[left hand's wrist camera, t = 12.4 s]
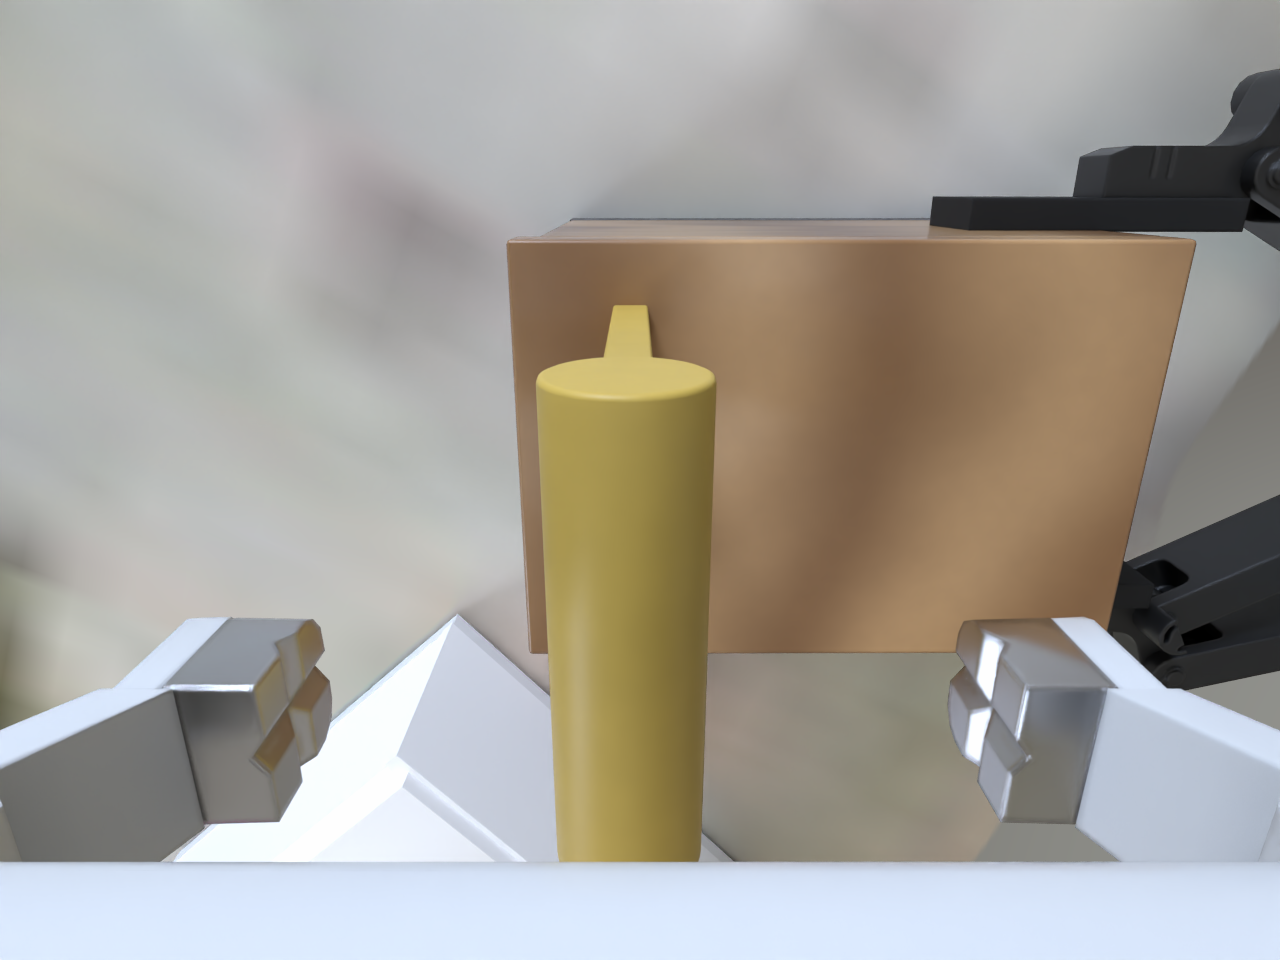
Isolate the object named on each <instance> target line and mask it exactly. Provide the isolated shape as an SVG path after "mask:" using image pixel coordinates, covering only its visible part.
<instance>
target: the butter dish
mask: <svg viewBox="0 0 1280 960" xmlns="http://www.w3.org/2000/svg"><path fill="white" fill-rule="evenodd" d="M301 773H302V779H303V782H302V784H301V786H300V787H299V789H298V791H297V793H296V794H295V796H294V798H293V799H292V801H291V803H290V805H289V806H288V808H287V810H286V812H285V813H284V815H283V817H282V819H281V820H280V822H267V823H232V824H212V825H210V826H209V827H208V828H207V829H206V830H205V831H203V832H202V833H201V834H200V835H199V836H198V837H196V838H195V839H194V840H193V841H192V842H191V843H189V844H188V845H187V846H186V847H185V848H184V849H182V850H181V851H180V852H179V854H178V855H177V857H176V858H175V860H174V861H173V862H559V859H558V852H557V835H556V813H555V791H554V770H553V748H552V726H551V704H550V696H549V695H548V694H547V693H545V692H544V691H543V690H542V689H541V688H540V687H539V686H538V685H537V684H535V683H534V682H533V681H532V680H531V679H530V678H529V677H528V676H526V675H525V674H524V673H523V672H522V671H521V670H520V669H519V668H518V667H516V666H515V665H514V664H513V663H512V662H511V661H510V660H509V659H507V658H506V657H505V656H504V655H503V654H502V653H501V652H500V651H499V650H497V649H496V648H495V647H494V646H493V645H492V644H491V643H490V642H489V641H487V640H486V639H485V638H484V637H483V636H482V635H481V634H480V633H478V632H477V631H476V630H475V629H474V628H473V627H472V626H471V625H470V624H468V623H467V622H466V621H465V620H464V619H463V618H462V617H461V616H460V615H458V614H457V615H456V616H455V617H453V618H452V619H451V620H450V621H449V622H448V623H446V624H445V625H444V626H443V627H442V628H441V629H439V630H438V631H437V632H436V633H435V634H434V635H432V636H431V637H430V638H429V639H428V640H427V641H425V642H424V643H423V644H422V645H421V646H420V647H418V648H417V649H416V650H415V651H414V652H413V653H411V654H410V655H409V656H408V657H407V658H406V659H404V660H403V661H402V662H401V663H400V664H399V665H397V666H396V667H395V668H394V669H393V670H392V671H390V672H389V673H388V674H387V675H386V676H385V677H383V678H382V679H381V680H380V681H379V682H378V683H376V684H375V685H374V686H373V687H372V688H371V689H369V690H368V691H367V692H366V693H365V694H364V695H362V696H361V697H360V698H359V699H358V700H356V701H355V702H354V703H353V704H352V705H351V706H349V707H348V708H347V709H346V710H345V711H344V712H342V713H341V714H340V715H339V716H338V717H337V718H335V719H334V720H333V721H332V722H331V723H330V726H329V730H328V734H327V738H326V741H325V743H324V744H323V746H322V748H321V750H320V752H319V754H318V756H316V757H315V758H313V759H312V760H310V761H309V762H307V763H305V764H304V765H302V766H301ZM698 862H734V861H733V860H732V859H731V858H729V857H728V856H727V855H726V854H725V853H724V852H723V851H722V850H721V849H719V848H718V847H717V846H716V845H715V844H714V843H713V842H712V841H711V840H709V839H708V838H707V837H706V836H705V835H704V834H703V833H702V834H701V853H700V858H699V861H698Z"/></svg>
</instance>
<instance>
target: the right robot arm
mask: <svg viewBox="0 0 1280 960" xmlns="http://www.w3.org/2000/svg"><path fill="white" fill-rule="evenodd" d="M1231 112H1232V114H1233V117H1232V119H1231V121H1230V122H1229V124H1228V126H1227V127H1226V129H1225V130H1224V132H1223V133H1222V134H1221V135H1220V136H1219V137H1218V138H1217V139H1216V140H1215V141H1213V142H1212V143H1210V144H1209V145H1206V146H1125V147H1113V148H1101V149H1099V150H1096V151H1094V152H1091V153H1089V154H1086V155H1084V156H1081V157H1080V159H1079V165H1078V170H1077V176H1076V182H1075V187H1074V193H1073V197H933V201H932V209H931V217H930V226H937V227H945V228H953V229H961V230H969V231H1111V232H1242V231H1243V228H1245V229H1246V230H1248V231H1250V232H1251V233H1253V234H1254V235H1256V236H1257V237H1259V238H1260V239H1262V240H1263V241H1265V242H1266V243H1268V244H1269V245H1271V246H1272V247H1274V248H1276V249H1277V250H1279V251H1280V69H1276V70H1271V71H1265V72H1260V73H1256V74H1253V75H1250V76H1248V77H1247V78H1245V79H1244V80H1243V81H1242V82H1241V83H1240V84H1239V85H1238V87H1237V88H1236V90H1235V91H1234V93H1233V96H1232V100H1231ZM1107 633H1108V634H1109V635H1111V636H1112V637H1113V638H1114V639H1115V640H1116V641H1117V642H1118V643H1119V644H1120V645H1121V646H1122V647H1123V648H1124V649H1125V650H1127V651H1128V652H1129V653H1130V654H1131V655H1132V656H1133V657H1134V658H1135V659H1136V660H1137V661H1138V662H1139V663H1140V664H1141V665H1142V666H1144V667H1145V668H1146V669H1147V670H1148V671H1149V672H1150V673H1151V674H1152V675H1153V676H1154V677H1155V678H1156V679H1157V680H1158V681H1159V682H1161V683H1162V684H1163V685H1164V686H1165V687H1166V688H1167V689H1182V690H1189V689H1194V688H1199V687H1204V686H1209V685H1213V684H1218V683H1223V682H1228V681H1232V680H1237V679H1242V678H1247V677H1251V676H1256V675H1261V674H1266V673H1271V672H1275V671H1280V495H1278V496H1276V497H1273V498H1271V499H1269V500H1267V501H1264V502H1262V503H1260V504H1257V505H1255V506H1253V507H1251V508H1248V509H1246V510H1244V511H1241V512H1239V513H1237V514H1235V515H1232V516H1230V517H1228V518H1226V519H1223V520H1221V521H1219V522H1216V523H1214V524H1212V525H1209V526H1207V527H1205V528H1203V529H1200V530H1198V531H1196V532H1193V533H1191V534H1189V535H1187V536H1184V537H1182V538H1180V539H1178V540H1175V541H1173V542H1171V543H1168V544H1166V545H1164V546H1162V547H1159V548H1157V549H1155V550H1152V551H1150V552H1148V553H1146V554H1143V555H1141V556H1139V557H1136V558H1134V559H1132V560H1130V561H1127V562H1124V561H1123V564H1122V569H1121V573H1120V577H1119V582H1118V586H1117V590H1116V595H1115V599H1114V603H1113V608H1112V612H1111V616H1110V621H1109V625H1108V629H1107Z"/></svg>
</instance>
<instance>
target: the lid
mask: <svg viewBox="0 0 1280 960" xmlns="http://www.w3.org/2000/svg"><path fill="white" fill-rule="evenodd" d="M1195 247H1196V241H1195V240H1192V239H1185V238H1174V237H516V238H513V239H511V240H508V242H507V262H508V280H509V298H510V316H511V334H512V352H513V370H514V388H515V406H516V424H517V442H518V460H519V479H520V497H521V515H522V533H523V551H524V569H525V587H526V605H527V623H528V641H529V651H530V653H532V654H548V660H549V682H550V704H551V726H552V748H553V770H554V791H555V813H556V835H557V852H558V859H559V862H698V861H699V858H700V853H701V834H702V804H703V774H704V744H705V715H706V685H707V655H708V653H957V652H956V651H955V649H956V643H957V637H958V632H959V630H960V628H961V626H962V623H963V621H967V620H982V619H1023V618H1066V617H1086V618H1089V619H1092V620H1095V621H1096V622H1097V623H1098V624H1099V625H1100V626H1101V627H1102V628H1103V629H1104V630H1105V631H1106V632H1107V629H1108V625H1109V621H1110V616H1111V612H1112V608H1113V603H1114V599H1115V595H1116V590H1117V586H1118V582H1119V577H1120V573H1121V569H1122V564H1123V560H1124V556H1125V551H1126V547H1127V543H1128V538H1129V534H1130V530H1131V525H1132V521H1133V517H1134V512H1135V508H1136V503H1137V499H1138V495H1139V490H1140V486H1141V482H1142V477H1143V473H1144V469H1145V464H1146V460H1147V456H1148V451H1149V447H1150V443H1151V438H1152V434H1153V430H1154V425H1155V421H1156V417H1157V412H1158V408H1159V404H1160V399H1161V395H1162V391H1163V386H1164V382H1165V378H1166V373H1167V369H1168V365H1169V360H1170V356H1171V352H1172V347H1173V343H1174V338H1175V334H1176V330H1177V325H1178V321H1179V317H1180V312H1181V308H1182V304H1183V299H1184V295H1185V291H1186V286H1187V282H1188V278H1189V273H1190V269H1191V265H1192V260H1193V256H1194V252H1195Z"/></svg>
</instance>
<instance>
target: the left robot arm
mask: <svg viewBox="0 0 1280 960" xmlns="http://www.w3.org/2000/svg"><path fill="white" fill-rule="evenodd" d="M324 651H325V649H324V644H323V639H322V634H321V628H320V626H319V625H318V624H317V623H316V622H315V621H314V620H313V619H275V618H232V617H210V618H193V619H187V620H186V621H185V622H184V623H183V624H181V625H180V626H179V627H178V628H177V629H176V630H175V631H174V632H173V633H172V634H171V635H170V636H169V637H168V638H166V639H165V640H164V641H163V642H162V643H161V644H160V645H159V646H158V647H157V648H156V649H155V650H154V651H153V652H152V653H150V654H149V655H148V656H147V657H146V658H145V659H144V660H143V661H142V662H141V663H140V664H139V665H138V666H137V667H136V668H134V669H133V670H132V671H131V672H130V673H129V674H128V675H127V676H126V677H125V678H124V679H123V680H122V681H121V682H120V683H118V684H117V685H116V686H115V687H114V688H113V689H98V690H95V691H93V692H91V693H88V694H86V695H83V696H81V697H79V698H76V699H74V700H71V701H69V702H67V703H64V704H62V705H59V706H57V707H55V708H52V709H50V710H47V711H45V712H43V713H40V714H38V715H35V716H33V717H31V718H28V719H26V720H24V721H21V722H19V723H16V724H14V725H12V726H9V727H7V728H4V729H2V730H0V960H1280V730H1278V729H1275V728H1273V727H1271V726H1268V725H1266V724H1263V723H1261V722H1259V721H1256V720H1254V719H1251V718H1249V717H1247V716H1244V715H1242V714H1240V713H1237V712H1235V711H1232V710H1230V709H1228V708H1225V707H1223V706H1220V705H1218V704H1216V703H1213V702H1211V701H1209V700H1206V699H1204V698H1201V697H1199V696H1197V695H1194V694H1192V693H1189V692H1187V691H1185V690H1182V689H1167V688H1166V687H1165V686H1164V685H1163V684H1162V683H1161V682H1159V681H1158V680H1157V679H1156V678H1155V677H1154V676H1153V675H1152V674H1151V673H1150V672H1149V671H1148V670H1147V669H1146V668H1145V667H1144V666H1142V665H1141V664H1140V663H1139V662H1138V661H1137V660H1136V659H1135V658H1134V657H1133V656H1132V655H1131V654H1130V653H1129V652H1128V651H1127V650H1125V649H1124V648H1123V647H1122V646H1121V645H1120V644H1119V643H1118V642H1117V641H1116V640H1115V639H1114V638H1113V637H1112V636H1111V635H1109V634H1108V633H1107V632H1106V631H1105V630H1104V629H1103V628H1102V627H1101V626H1100V625H1099V624H1098V623H1097V622H1096V621H1095V620H1092V619H1089V618H1086V617H1066V618H1023V619H982V620H967V621H963V623H962V626H961V628H960V630H959V632H958V637H957V643H956V649H955V651H956V652H957V654H958V655H959V657H960V658H961V660H962V662H963V663H964V665H965V666H964V667H963V668H962V669H961V670H960V671H959V672H958V674H957V675H956V676H955V677H954V678H953V679H952V680H951V681H950V689H949V697H948V712H949V722H950V728H951V731H952V734H953V737H954V741H955V743H956V745H957V746H958V748H959V750H960V752H961V754H962V756H964V757H965V758H967V759H968V760H970V761H971V762H973V763H975V764H976V765H978V766H979V773H978V779H977V782H978V784H979V786H980V787H981V789H982V791H983V792H984V794H985V796H986V798H987V799H988V801H989V803H990V805H991V806H992V808H993V810H994V811H995V813H996V815H997V817H998V818H999V820H1000V822H1011V823H1047V824H1076V825H1075V828H1076V829H1078V830H1079V831H1080V832H1082V833H1083V834H1084V835H1085V836H1087V837H1088V838H1089V839H1091V840H1092V841H1093V842H1095V843H1096V844H1097V845H1099V846H1100V847H1101V848H1103V849H1104V850H1105V851H1107V852H1108V853H1109V854H1110V855H1112V856H1113V857H1115V858H1116V859H1117V860H1119V861H1120V862H161V861H162V860H163V859H165V858H166V857H167V856H168V855H170V854H171V853H172V852H174V851H175V850H176V849H178V848H179V847H180V846H182V845H183V844H184V843H186V842H187V841H188V840H190V839H191V838H192V837H194V836H195V835H196V834H197V833H199V832H200V831H201V830H203V829H204V828H205V826H204V824H232V823H267V822H280V820H281V819H282V817H283V815H284V813H285V812H286V810H287V808H288V806H289V805H290V803H291V801H292V799H293V798H294V796H295V794H296V793H297V791H298V789H299V787H300V786H301V784H302V782H303V779H302V773H301V766H302V765H304V764H305V763H307V762H309V761H310V760H312V759H313V758H315V757H316V756H318V754H319V752H320V750H321V748H322V746H323V744H324V743H325V741H326V738H327V734H328V730H329V726H330V722H331V717H332V695H331V687H330V681H329V680H328V679H327V678H326V677H325V676H324V675H323V674H322V672H321V671H320V670H319V669H318V668H317V667H316V666H315V665H316V663H317V662H318V660H319V658H320V657H321V655H322V654H323V652H324Z"/></svg>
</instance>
